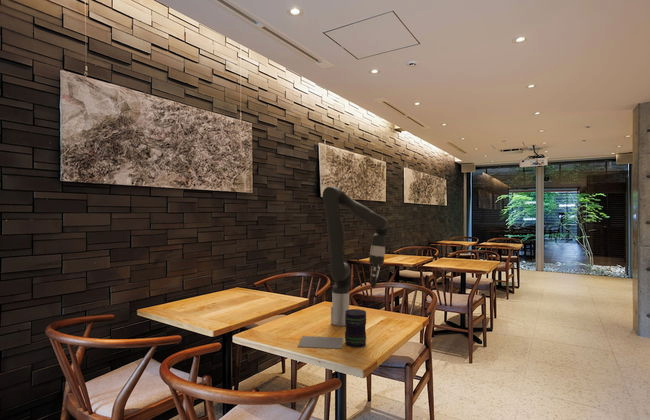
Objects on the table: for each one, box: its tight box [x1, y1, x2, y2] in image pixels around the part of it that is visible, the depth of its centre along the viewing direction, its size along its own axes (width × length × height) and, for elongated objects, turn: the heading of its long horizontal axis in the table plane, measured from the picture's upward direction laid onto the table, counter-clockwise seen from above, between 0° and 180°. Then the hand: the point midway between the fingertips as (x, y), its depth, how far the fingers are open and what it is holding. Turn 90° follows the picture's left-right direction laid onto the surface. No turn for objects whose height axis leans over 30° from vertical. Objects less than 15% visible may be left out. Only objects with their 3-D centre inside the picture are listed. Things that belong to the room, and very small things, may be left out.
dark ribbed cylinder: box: [344, 308, 367, 349], centre depth 172 cm, size 10×10×15 cm
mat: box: [297, 335, 344, 350], centre depth 173 cm, size 20×14×1 cm
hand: (373, 286), depth 191 cm, fingers open, 8 cm apart
